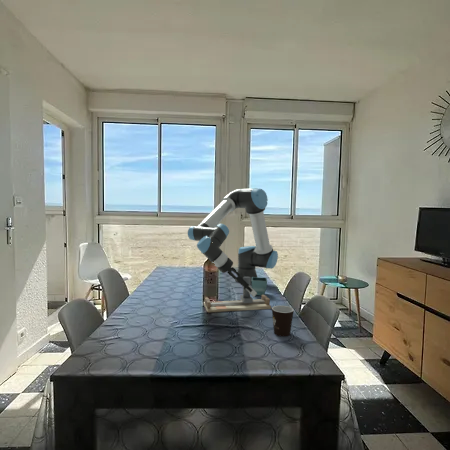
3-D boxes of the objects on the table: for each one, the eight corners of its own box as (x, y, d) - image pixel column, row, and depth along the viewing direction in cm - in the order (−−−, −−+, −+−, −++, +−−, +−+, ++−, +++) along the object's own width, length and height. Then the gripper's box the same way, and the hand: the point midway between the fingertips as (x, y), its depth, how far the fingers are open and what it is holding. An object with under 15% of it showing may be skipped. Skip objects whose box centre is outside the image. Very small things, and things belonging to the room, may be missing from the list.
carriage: (240, 299, 166) (240, 276, 165) (248, 298, 167) (249, 275, 166) (244, 303, 159) (244, 279, 158) (252, 302, 160) (253, 278, 159)
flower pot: (266, 292, 189) (266, 277, 188) (266, 297, 180) (267, 281, 179) (251, 291, 190) (251, 276, 189) (251, 296, 181) (251, 280, 180)
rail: (203, 304, 165) (203, 296, 164) (263, 301, 172) (263, 293, 171) (207, 312, 153) (207, 303, 153) (271, 308, 160) (271, 300, 160)
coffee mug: (293, 338, 125) (293, 313, 124) (270, 336, 127) (271, 311, 126) (292, 327, 136) (293, 304, 135) (272, 325, 138) (272, 302, 137)
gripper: (214, 264, 166) (244, 294, 172) (220, 271, 150) (253, 304, 155) (224, 254, 167) (253, 284, 172) (232, 260, 151) (264, 293, 156)
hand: (253, 293), depth 164 cm, fingers closed on carriage, 4 cm apart
